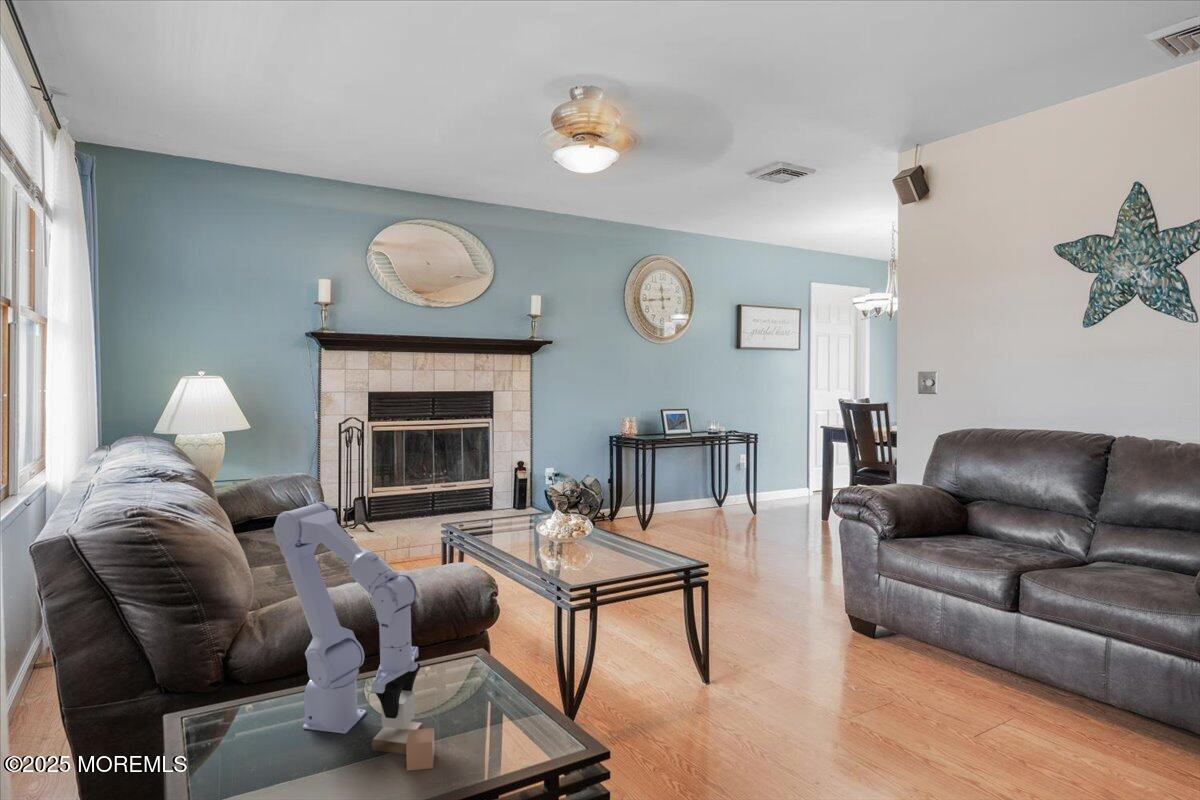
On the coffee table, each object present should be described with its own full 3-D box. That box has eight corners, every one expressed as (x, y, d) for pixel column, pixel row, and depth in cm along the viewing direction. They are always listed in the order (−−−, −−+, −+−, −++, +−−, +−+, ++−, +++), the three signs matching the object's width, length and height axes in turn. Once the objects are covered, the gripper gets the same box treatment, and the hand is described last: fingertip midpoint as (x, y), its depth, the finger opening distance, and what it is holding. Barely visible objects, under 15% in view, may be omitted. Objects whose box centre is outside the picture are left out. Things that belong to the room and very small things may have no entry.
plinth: (372, 751, 131) (371, 739, 131) (390, 730, 138) (389, 718, 138) (407, 756, 130) (406, 743, 130) (423, 734, 137) (423, 722, 137)
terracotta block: (406, 770, 125) (406, 744, 125) (409, 755, 130) (408, 729, 129) (432, 768, 126) (432, 742, 125) (434, 753, 130) (433, 727, 130)
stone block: (381, 726, 132) (381, 701, 131) (393, 713, 136) (392, 689, 136) (403, 729, 131) (403, 703, 130) (414, 716, 135) (414, 691, 135)
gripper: (397, 661, 124) (399, 733, 126) (431, 627, 138) (433, 692, 140) (360, 657, 125) (363, 729, 127) (398, 624, 140) (400, 688, 141)
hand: (397, 709), depth 133 cm, fingers closed on stone block, 4 cm apart
